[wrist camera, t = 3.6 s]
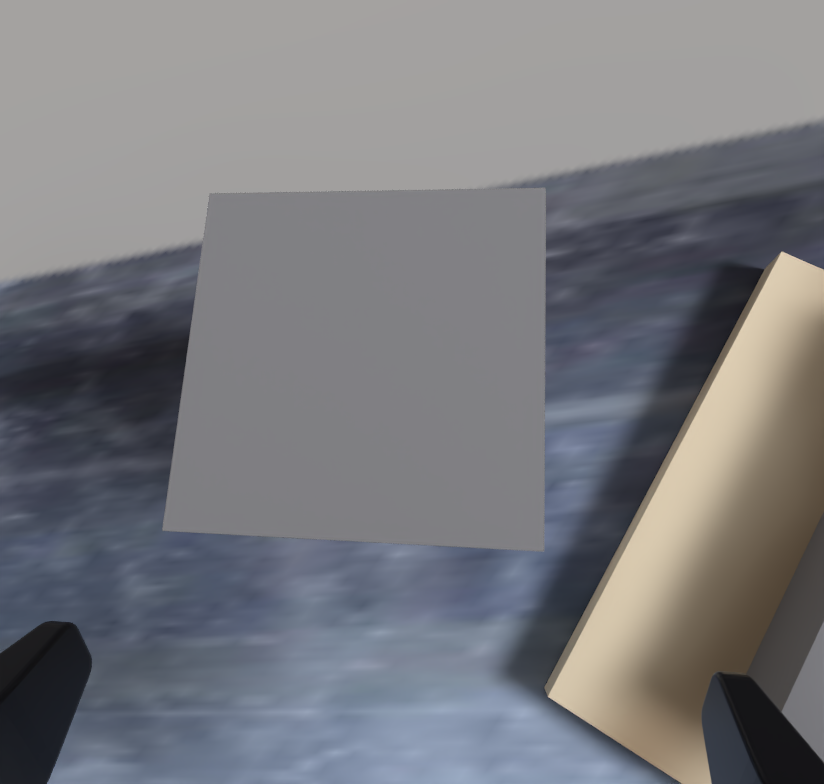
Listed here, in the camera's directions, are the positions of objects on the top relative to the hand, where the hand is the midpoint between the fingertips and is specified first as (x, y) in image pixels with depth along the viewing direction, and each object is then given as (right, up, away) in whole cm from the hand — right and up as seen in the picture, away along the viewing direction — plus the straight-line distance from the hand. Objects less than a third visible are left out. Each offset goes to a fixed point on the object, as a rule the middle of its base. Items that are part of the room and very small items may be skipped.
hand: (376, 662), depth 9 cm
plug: (+1, +1, +11) cm, 11 cm away
